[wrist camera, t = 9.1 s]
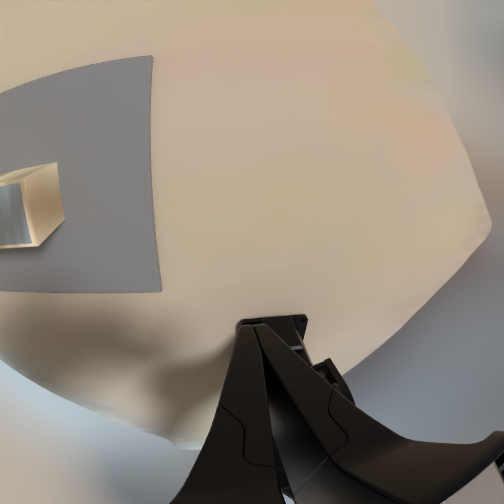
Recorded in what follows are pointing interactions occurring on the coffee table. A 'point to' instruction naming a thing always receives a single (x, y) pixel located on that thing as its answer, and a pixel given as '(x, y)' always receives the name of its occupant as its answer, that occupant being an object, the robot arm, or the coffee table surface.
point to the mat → (86, 178)
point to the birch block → (29, 205)
